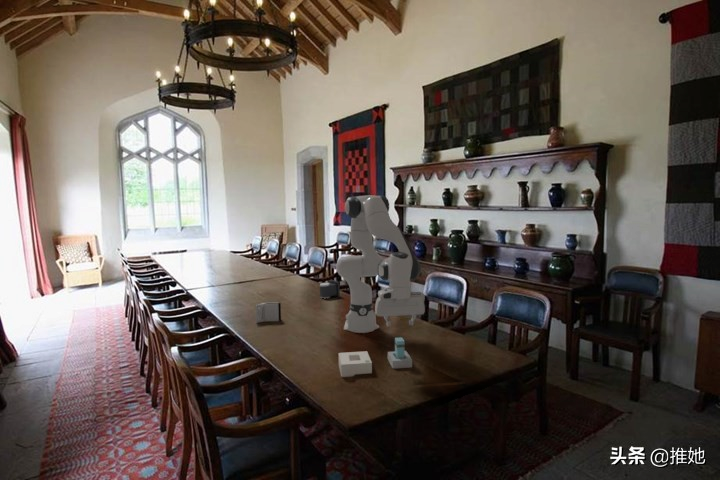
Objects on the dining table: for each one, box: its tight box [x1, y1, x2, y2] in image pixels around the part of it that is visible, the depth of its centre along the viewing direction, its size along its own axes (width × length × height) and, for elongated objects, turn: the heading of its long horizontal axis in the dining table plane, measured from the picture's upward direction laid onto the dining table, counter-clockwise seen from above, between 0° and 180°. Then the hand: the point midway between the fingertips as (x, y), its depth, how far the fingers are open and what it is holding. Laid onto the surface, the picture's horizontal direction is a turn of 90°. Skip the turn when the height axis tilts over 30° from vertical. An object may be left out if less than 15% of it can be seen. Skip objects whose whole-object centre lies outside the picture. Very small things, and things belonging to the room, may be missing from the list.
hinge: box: [254, 301, 282, 324], centre depth 229 cm, size 14×5×10 cm, turn 104°
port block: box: [338, 350, 373, 378], centre depth 164 cm, size 12×12×5 cm
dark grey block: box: [318, 279, 341, 300], centre depth 283 cm, size 11×13×11 cm
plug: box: [394, 336, 406, 359], centre depth 168 cm, size 4×3×10 cm
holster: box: [387, 350, 413, 369], centre depth 168 cm, size 10×8×4 cm
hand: (399, 325), depth 166 cm, fingers open, 8 cm apart
